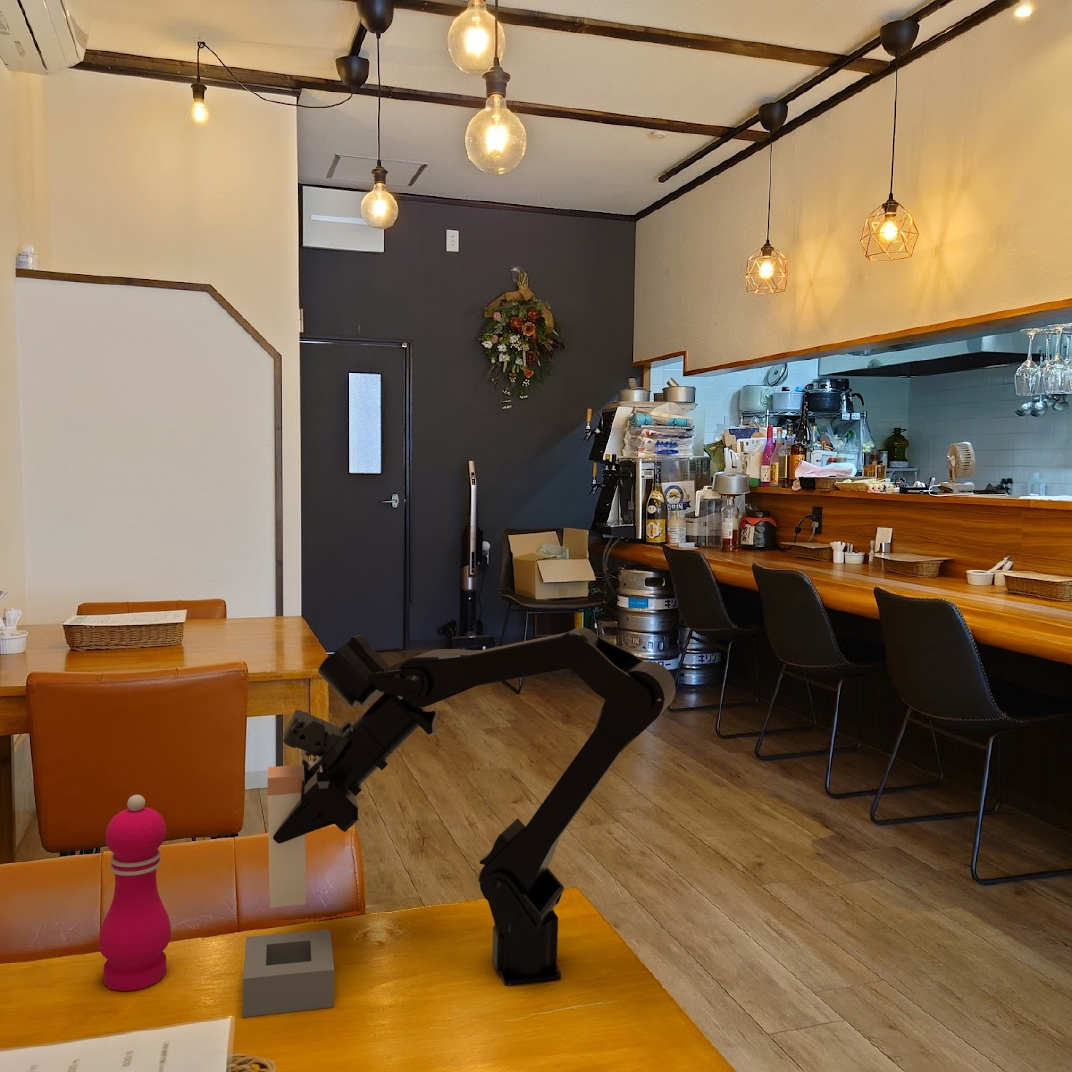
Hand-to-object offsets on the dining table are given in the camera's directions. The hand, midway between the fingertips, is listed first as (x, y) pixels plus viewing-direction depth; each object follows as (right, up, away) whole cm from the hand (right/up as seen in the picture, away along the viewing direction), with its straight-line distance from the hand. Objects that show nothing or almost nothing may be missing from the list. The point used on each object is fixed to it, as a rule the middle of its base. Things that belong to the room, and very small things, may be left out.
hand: (276, 833), depth 109 cm
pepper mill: (-14, -14, -6) cm, 20 cm away
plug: (+1, -8, +1) cm, 8 cm away
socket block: (+3, -14, -8) cm, 16 cm away
